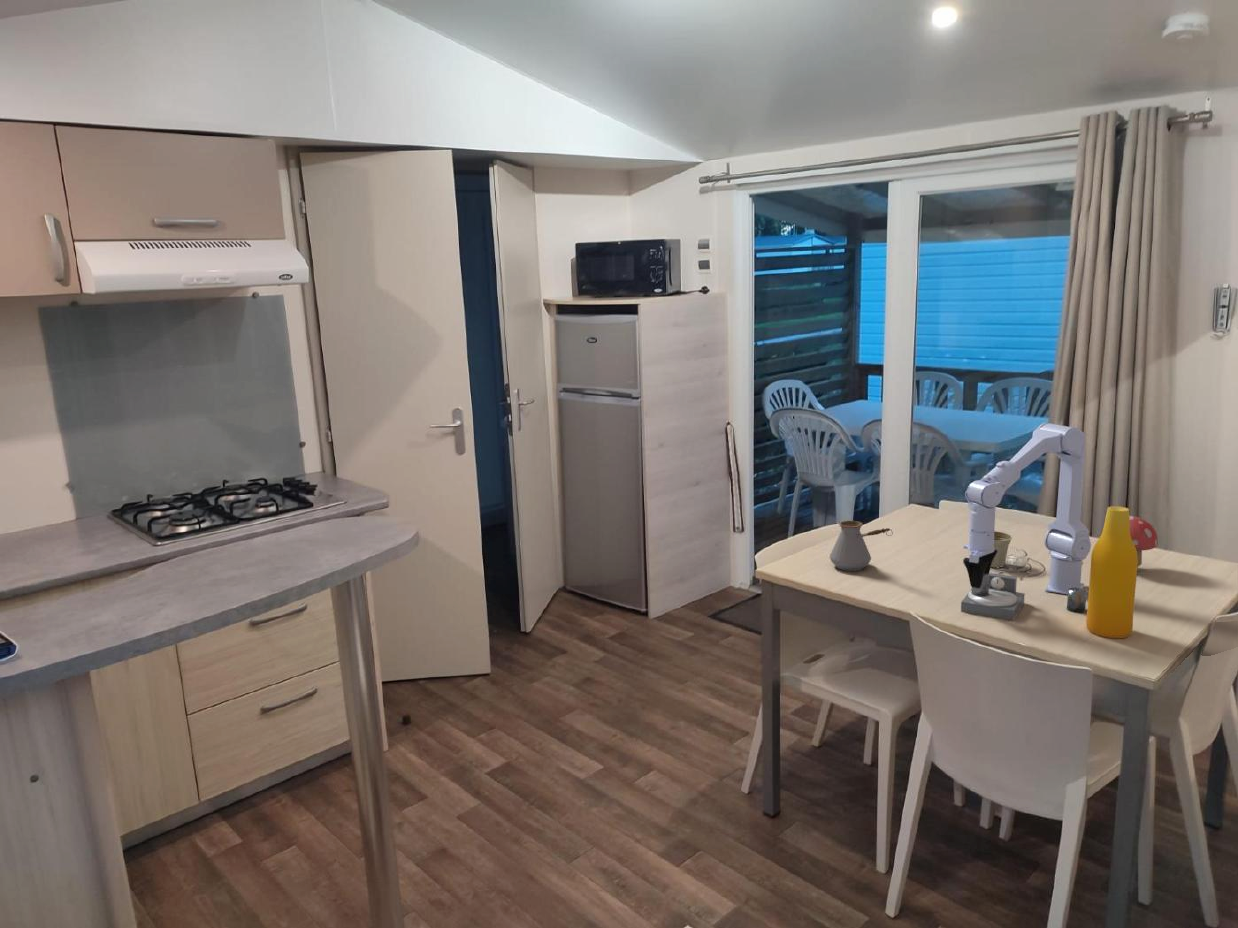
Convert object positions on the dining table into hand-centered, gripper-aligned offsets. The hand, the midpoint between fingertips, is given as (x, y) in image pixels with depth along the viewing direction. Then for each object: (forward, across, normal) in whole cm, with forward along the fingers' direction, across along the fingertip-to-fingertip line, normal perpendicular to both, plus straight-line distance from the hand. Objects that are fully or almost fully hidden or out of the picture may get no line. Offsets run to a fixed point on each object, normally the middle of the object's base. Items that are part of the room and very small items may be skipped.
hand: (979, 582), depth 216 cm
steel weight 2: (+6, -8, +21) cm, 23 cm away
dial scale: (+6, -1, +3) cm, 7 cm away
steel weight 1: (+3, 0, 0) cm, 3 cm away
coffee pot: (+6, -12, -34) cm, 36 cm away
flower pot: (+6, -34, -4) cm, 35 cm away
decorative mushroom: (+6, -46, +28) cm, 54 cm away
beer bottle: (+6, +2, +29) cm, 30 cm away
